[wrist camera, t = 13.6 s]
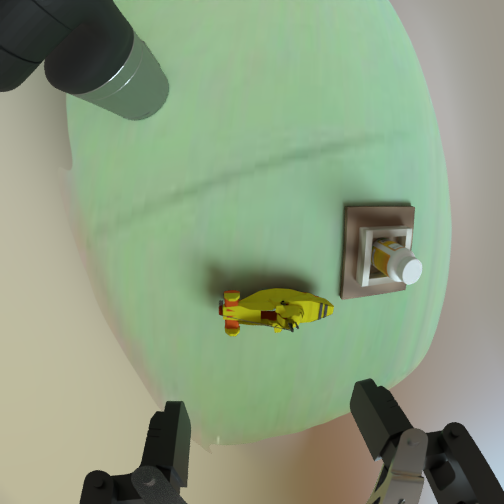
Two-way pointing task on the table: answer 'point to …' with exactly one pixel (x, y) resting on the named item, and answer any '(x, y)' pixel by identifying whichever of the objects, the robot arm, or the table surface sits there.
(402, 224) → the jig board
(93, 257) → the table surface
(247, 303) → the toy boat
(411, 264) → the supplement bottle
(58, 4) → the robot arm
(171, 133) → the table surface
